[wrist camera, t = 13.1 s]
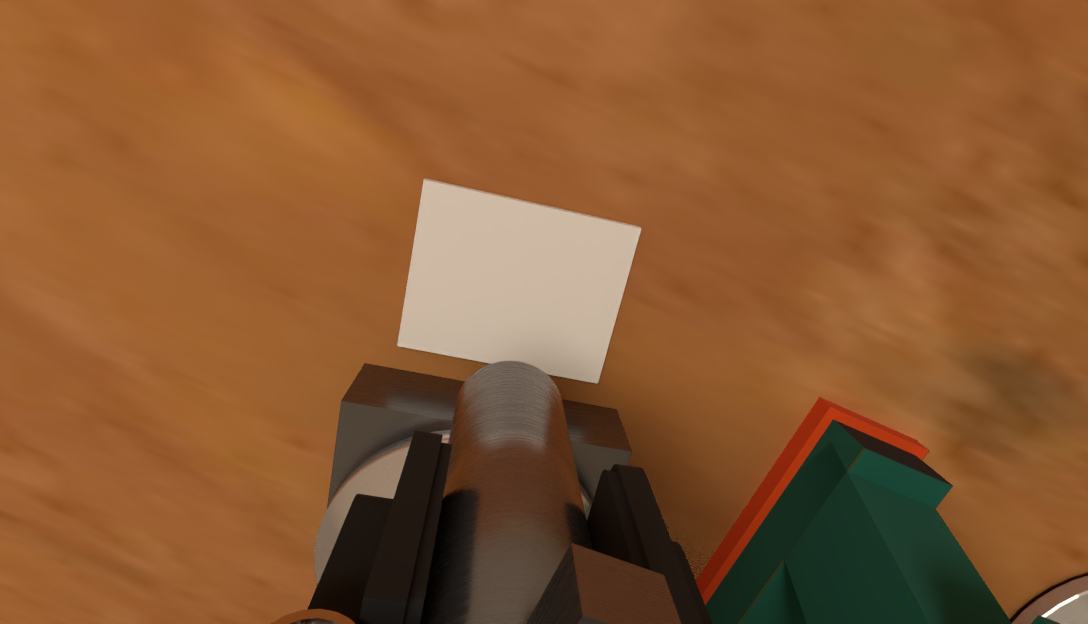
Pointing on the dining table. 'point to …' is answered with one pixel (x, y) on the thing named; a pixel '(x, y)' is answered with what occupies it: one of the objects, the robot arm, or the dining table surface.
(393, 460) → the collar
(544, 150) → the dining table surface
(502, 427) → the chuck key
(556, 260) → the key mat
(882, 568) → the power tool
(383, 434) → the stand
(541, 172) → the dining table surface
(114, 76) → the dining table surface
